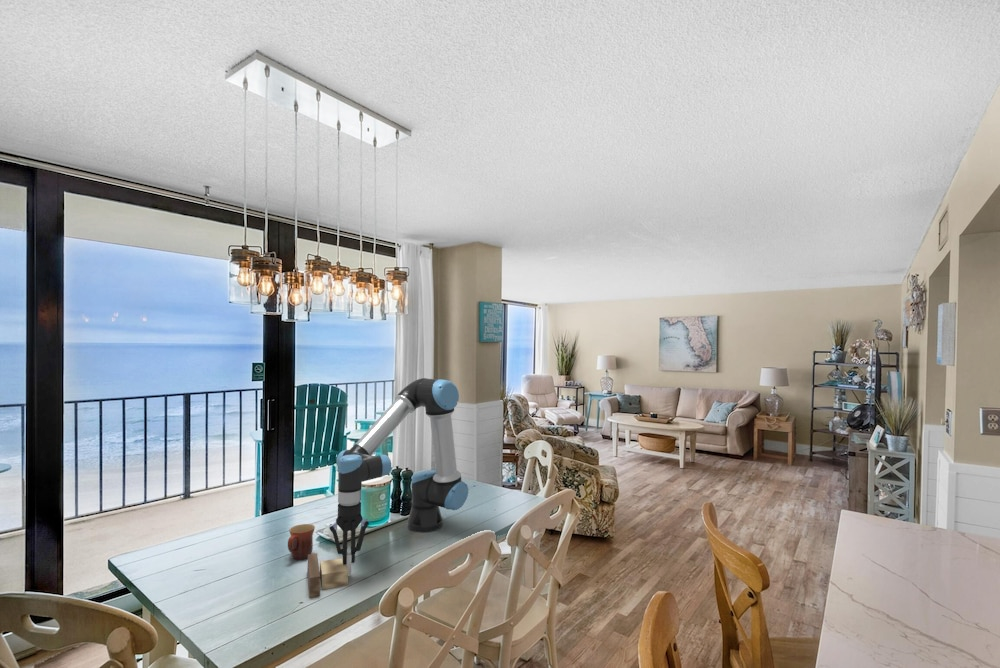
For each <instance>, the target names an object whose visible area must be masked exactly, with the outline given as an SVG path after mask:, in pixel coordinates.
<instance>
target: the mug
mask: <svg viewBox="0 0 1000 668" xmlns="http://www.w3.org/2000/svg"><path fill="white" fill-rule="evenodd" d="M315 528H316V525H314V524H311V523H305V524H304V523H302V524H298V525H294V526H291V527H290V528H289V530H288V531H289V535H290V536H289V538H288V540H287V549H288V551H289V553H290V556H291V558H292V559H293V560H297V561H301V560H305V559H308V554H313V548H314V547H313V545H314V544H313V543H314V542H313V535H314V532H315Z"/></svg>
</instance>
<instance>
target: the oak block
mask: <svg viewBox="0 0 1000 668" xmlns="http://www.w3.org/2000/svg"><path fill="white" fill-rule="evenodd" d="M319 571H320V589H321V590H327V589H333V588H338V587H343V586H348V585H349V575H348V568H347V564H343V557H340V558H333V559H328V560H321V561H319Z"/></svg>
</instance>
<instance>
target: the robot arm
mask: <svg viewBox="0 0 1000 668" xmlns="http://www.w3.org/2000/svg"><path fill="white" fill-rule="evenodd" d="M459 399H460V393H459V390H458V387H457V386H456V384H455V383H453V382H452V381H450V380H447V379H444V378H441V379H440V378H426V377H423V378H419V379H416V380H414V381H412V382H411V383H409V384H407V385H406V386H405V387H404V388H403V389H402V390H401V391H400V392H398V394H396V396H395V397H394V401H393V402H392V403H391V405H390V406H389V407H388V408H387V409H386V410H385V411H384V412H383V413H382V415H380V416H379V417H378V419H377V420H376V421H375V422H374V423H373V424H372V425H371V426H370V427H369V428H368V430H367V431H365V433H363V434H362V436H361V437H360V438H359V439H358V441H356V443H354V445H353V446H352V447H351V448H350V449H344V450H342V451H340V452H339V453H338V455H337V457H336V466H337V468H338V469H337V473H338V474H337V477H338V479H337V488H338V489H337V490H338V491H337V502H338V504H337V518H336V519H335V522H334V523H331V524H329V525H328V527H329V530H330V532H331V533H332V535H333V539H334V543H335V548H336V551H337V554H338V555H342V558H343V564H347V568H348V576H350V575H352V564H354V563H355V562H356V553H358V552H360V551H361V550H362V546H363V543H364V542H363V541H364V538H365V534H366V530H367V527H368V526H369V524H370V522H369V520H368V519H365V518H363V516H362V485H363V484H362V483H363V482H366V481H371V480H374V479H379V478H382V477H385V476H387V475H389V474H390V472H392V461H391V459H390V457H389V456H388V455H386V454H378V455H373V454H374V453H375V452H376V451H377V450H378V449H379V448H380V447H381V446H382V444H383V443H384V442H385V441H386V440H387V439H388V437H389V436H390V435H391V434H392V433H394V432H395V431H394V430H395V429H396V428H397V427H398V426H399V425H400V424H401V422H403V421H404V419H405V418H407V416H408V415H409V414H412V413H414V412H415V411H416V410H417V409H418V408H421V407H424V408H425V415H426V416H427V417H429V419H430V429H431V439H432V445H433V446H432V447H433V459H434V466H435V467H434V468H435V469H432V470H431V469H430V470H422V471H417V472H415V473H413V475H412V478H411V509H410V512H409V515H408V518H407V524H406V526H407V529H408V530H410V531H411V532H418V533H428V532H434V531H437V530H439V529H441V528H442V527H443V523H444V522H443V517H442V513H441V509H440V508H443V509H446V510H451V511H457V510H460V509H461V508H462V507H463V506H464V505H465V503H466V501H467V499H468V496H469V487H468V484H467V483H466V482H465V481H462V474H461V472H460V471H459V470H457V460H456V458H457V457H456V449H455V442H454V441H455V440H454V432H453V421H452V420H453V419H452V415H453V413H454V412H455V408H456V407H457V405H458V402H459ZM359 525H361V527H360V529H359V530H360V531H359V534H358V537H357V542H356V532H357V530H356V529H357V528H358V527H359ZM338 527H339V528H340V529H341V531H342V548H341V544H340V540H339V537H338V533H337V530H338ZM349 531H350V551H348V534H349Z"/></svg>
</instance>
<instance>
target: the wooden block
mask: <svg viewBox="0 0 1000 668" xmlns="http://www.w3.org/2000/svg"><path fill="white" fill-rule="evenodd" d="M318 556H319V555H318V552H316V553H312V554H308V558H307V584H308V596H309V599H311V598H316V597H320V596H321V581H320V563H319V557H318Z"/></svg>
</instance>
